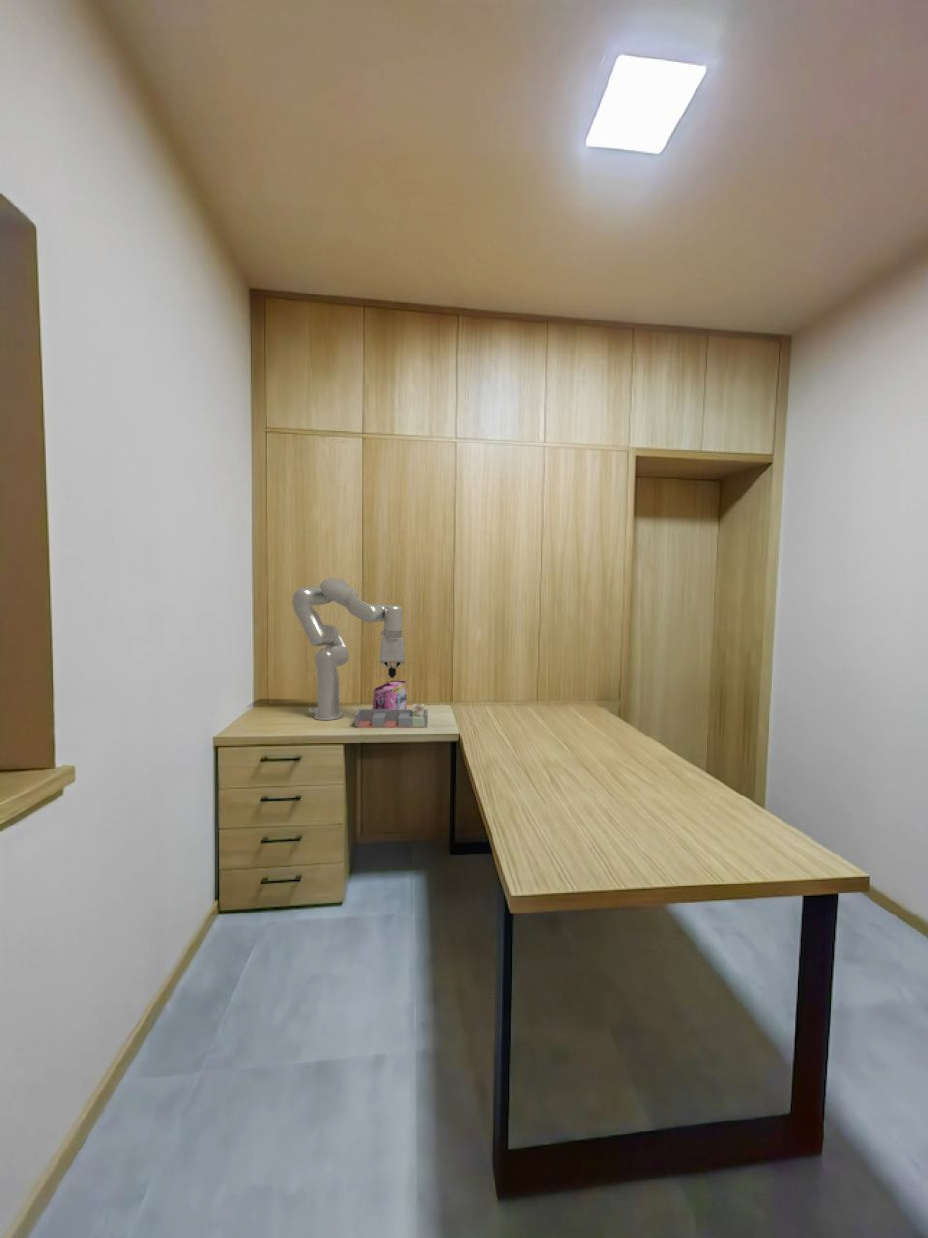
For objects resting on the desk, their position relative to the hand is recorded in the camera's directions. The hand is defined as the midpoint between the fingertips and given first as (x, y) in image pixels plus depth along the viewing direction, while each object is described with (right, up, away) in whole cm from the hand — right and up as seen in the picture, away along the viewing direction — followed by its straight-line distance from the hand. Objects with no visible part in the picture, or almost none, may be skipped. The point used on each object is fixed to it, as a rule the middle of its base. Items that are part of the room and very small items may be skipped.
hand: (392, 677), depth 209 cm
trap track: (0, -21, +1) cm, 21 cm away
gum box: (-4, -20, +20) cm, 28 cm away
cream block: (+11, -17, +1) cm, 20 cm away
